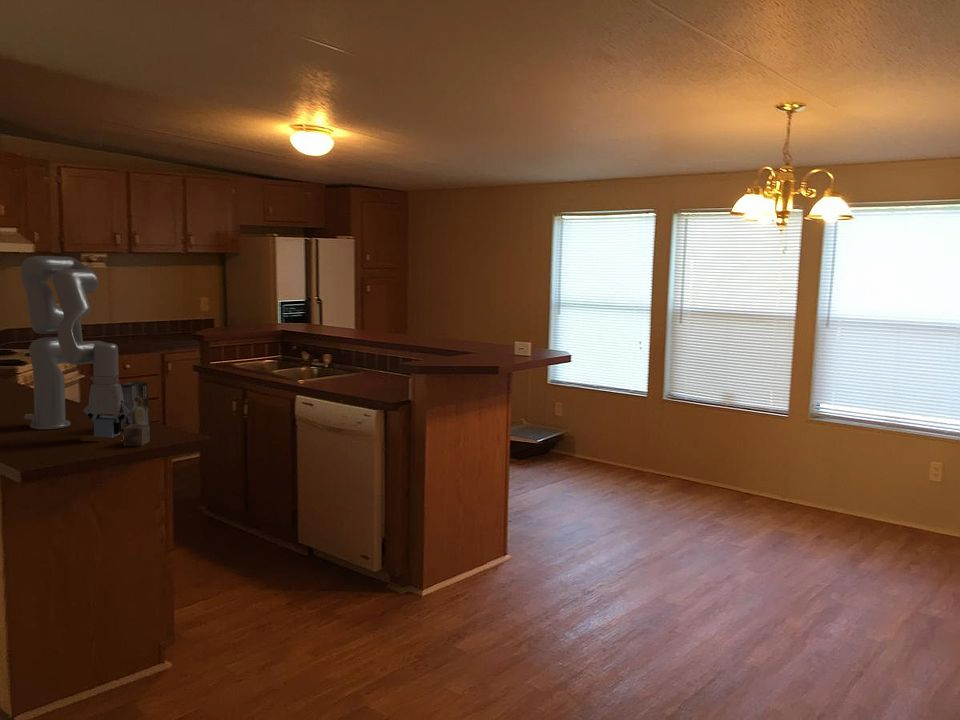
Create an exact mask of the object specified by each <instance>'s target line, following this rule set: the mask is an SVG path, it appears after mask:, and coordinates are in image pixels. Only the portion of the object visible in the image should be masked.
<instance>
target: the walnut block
mask: <svg viewBox="0 0 960 720" xmlns="http://www.w3.org/2000/svg"><path fill="white" fill-rule="evenodd" d="M150 428H151V427H150V424H149V425H134V424H131V425H129V426H127V427H125V428H123V430H122V436H123V440H122V442H123V443H122V444H123V445H124V446H123V445H122V446H123V447H139V446H142V445H144V444H146V443H148V442H151V439H150V438H151V435H150V434H151V432H150V431H151V430H150ZM148 444H149V443H148ZM146 445H147V444H146ZM144 446H145V445H144ZM142 447H143V446H142Z"/></svg>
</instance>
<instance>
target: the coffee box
mask: <svg viewBox="0 0 960 720" xmlns="http://www.w3.org/2000/svg"><path fill="white" fill-rule="evenodd" d="M120 384H121V387H122V392H123V399H124V405H125V406H126V407H127V408H128V409H129V410H130V411H131V412H130V413H129V414H128V415H127V416H126V417H125V418H124V419H123V420H122V421H121V430H122V429H123V428H125V427H127V426H129V425H131V424H134V425H150V424H149V393H148V387H149V386H148V382H142V381H129V382H125V383H120ZM123 413H124V411H123V412H120V414H121V415H122V414H123Z"/></svg>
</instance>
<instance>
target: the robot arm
mask: <svg viewBox="0 0 960 720" xmlns="http://www.w3.org/2000/svg"><path fill="white" fill-rule="evenodd" d="M20 280H21V282H22V286H23V288H24V291H25V293H26V299H27V305H28V313H29V320H30V321H29V322H30V325H31V326H30V327H31V329H32V330H33V332H34V333H36V334H42V335H43V334H44V335H45V334H47V335H48V334H57V336H48V337H41V338H37V339H35V340H34V341H32V342H31V343H30V346H29V348H28V354H29V359H30V361H31V367H32V377H33V401H34V402H33V406H34V413H25V415H24V420H25V421H31V423H30V424H29V428H31V429H33V430H34V429H35V430H56V429H57V430H58V429H63V428H67V427H70V426H71V421H70V420H68V419H66V392H65V391H66V388H65V387H66V386H65V375H64V373H63V371H62V370H61V369H60V367H59V365H60V364H70V365H75V366H76V365H77V366H78V365H88V364H93V375H92V376H90V377H89V380H90V381H93V382H92V384H90V389H89V396H88V397H89V398H88V405H86V407H84V409H83V412H84V414H85V415H87V416H88V418H89V419H90V420H91V422H92V423H93V425H92V426H93V427H92V428H93V431H94V419H96V418H98V417H101V416H113V417H114V419H115V423H114V434H118V433H120V434H121V431H122V429H121V421H122V420H123V419H124V418H125V417H126V416H127V415H128V414H129V413H130V412H131V411H130V410H129V409H128V408H127V407H126V406H125V405H124V399H123V392H122V387H121V384H122V383H120V374H119V369H120V368H119V347H118V345H117V344H115V343H113V342H112V343H111V342H105V341H102V340H91V341H90V340H86V341H84V338H83V330H82V324H81V320H82V319H84V318H86V317H88V316H89V315H90V314H91V312H92V308H91V305H90V303H89V299H88V296H87V294H93V293H95V292H97V290H98V289H99V284H100V283H99V279H98V277H97V275H96V274H95V272H94V271H93V270H92V269H91V268H90V267H88V266H87V265H85V264H84V263H82V262H81V261H80V260H78V259H76V258H74V257H71V256H59V255H58V256H56V255H55V256H54V255H34V256H29V257H28V258H26V259H25V260H23V262H22V264H21V266H20ZM46 281H51V282H52V283H53V286H54V290H55V292H56V295H57V298H58V302H59V304H60V305H59V306H58V305H57V302H56V301H57V300H56V295H55V292H54V290H53V289H52V287H51V286H50V285H49V284H48V283H47V282H46ZM58 364H59V365H58ZM123 411H124V413H123V414H122V415H121V414H120V412H123Z"/></svg>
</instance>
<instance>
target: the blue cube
mask: <svg viewBox="0 0 960 720" xmlns="http://www.w3.org/2000/svg"><path fill="white" fill-rule="evenodd" d="M114 423H115V419H114V417H113V415H100V417H98V418H96V419H94V430H93V434H94V437H105V438H113V437H115V436H117V435H121V432H120V433H118V434H114Z"/></svg>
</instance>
